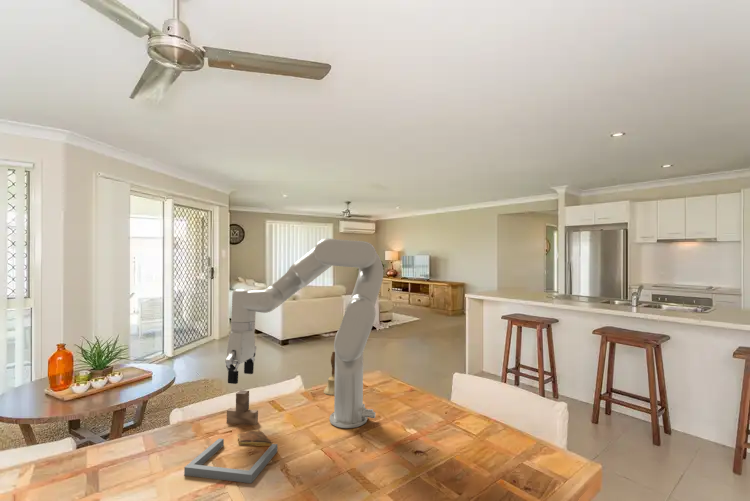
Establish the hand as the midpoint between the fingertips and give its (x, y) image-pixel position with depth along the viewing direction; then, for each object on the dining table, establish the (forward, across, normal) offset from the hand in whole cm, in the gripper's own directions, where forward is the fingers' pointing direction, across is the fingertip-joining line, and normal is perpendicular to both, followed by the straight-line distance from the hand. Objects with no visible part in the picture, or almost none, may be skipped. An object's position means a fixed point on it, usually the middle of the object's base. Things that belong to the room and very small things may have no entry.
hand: (241, 378), depth 118 cm
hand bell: (+14, -32, +23) cm, 42 cm away
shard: (+15, +9, +11) cm, 21 cm away
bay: (+14, +22, +11) cm, 28 cm away
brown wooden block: (+14, 0, +1) cm, 15 cm away
